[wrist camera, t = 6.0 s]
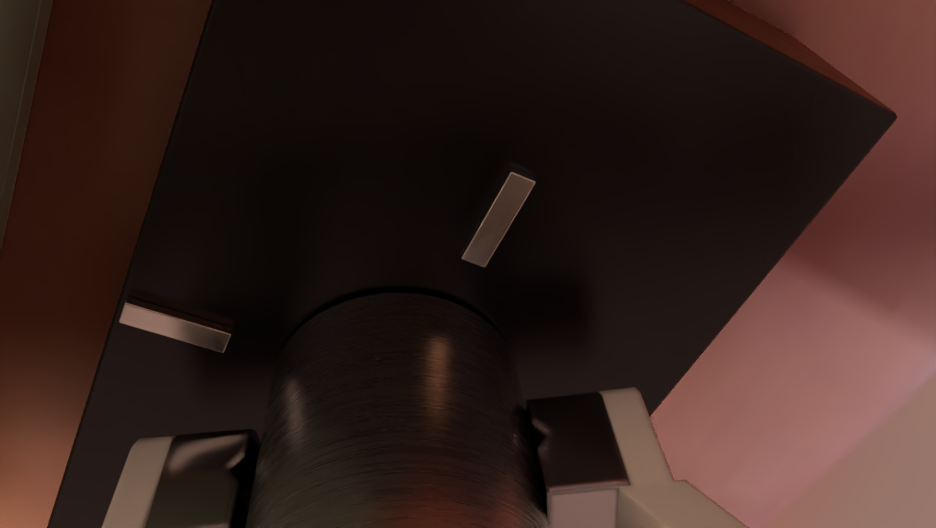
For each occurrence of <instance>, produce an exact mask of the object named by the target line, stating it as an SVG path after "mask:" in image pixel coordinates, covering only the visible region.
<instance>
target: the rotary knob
mask: <svg viewBox="0 0 936 528" xmlns="http://www.w3.org/2000/svg"><path fill="white" fill-rule="evenodd" d="M245 528H550V526H549V523H548V520H547V516H546V511H545V506H544V501H543V497H542V492H541V487H540V482H539V477H538V467H537V463H536V458H535V454H534V451H533V447H532V443H531V438H530V433H529V428H528V423H527V418H526V413H525V404H524V400H523V395H522V390H521V385H520V380H519V375H518V370H517V366H516V363H515V360H514V357H513V354H512V352H511V350H510V348H509V346H508V344H507V343H506V342H505V340H504V339H503V338H502V336H501V335H500V333H499V332H498V331H497V330H496V329H494V328H493V327H492V326H491V325H490V324H489V323H488V322H487V321H486V320H484V319H483V318H482V317H480V316H479V315H478V314H476V313H474V312H473V311H471V310H469V309H467V308H465V307H464V306H461V305H459V304H457V303H454V302H452V301H449V300H446V299H442V298H439V297H435V296H431V295H425V294H418V293H405V292H391V293H378V294H372V295H365V296H361V297H357V298H354V299H350V300H347V301H344V302H342V303H339V304H336V305H334V306H332V307H330V308H328V309H326V310H324V311H322V312H320V313H319V314H317V315H315V316H314V317H313V318H311V319H310V320H308V321H307V322H306V323H304V324H303V325H302V326H301V327H300V328H299V329H298V330H297V331H296V332H295V333H294V334H293V335H292V336H291V337H290V339H289V340H288V341H287V342H286V344H285V345H284V347H283V348H282V350H281V352H280V354H279V355H278V357H277V360H276V363H275V366H274V368H273V373H272V379H271V384H270V390H269V396H268V401H267V407H266V413H265V418H264V424H263V429H262V435H261V441H260V446H259V452H258V458H257V463H256V469H255V475H254V480H253V486H252V491H251V497H250V503H249V508H248V514H247V520H246V525H245Z"/></svg>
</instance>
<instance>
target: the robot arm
mask: <svg viewBox="0 0 936 528" xmlns="http://www.w3.org/2000/svg"><path fill="white" fill-rule="evenodd" d="M525 413H526V418H527V423H528V428H529V433H530V438H531V443H532V447H533V451H534V454H535V458H536V463H537V467H538V477H539V482H540V487H541V492H542V497H543V501H544V506H545V511H546V516H547V520H548V523H549V526H550V528H749V527H747V526H746V525H745V524H743V523H742V522H741V521H739V520H738V519H737V518H735V517H734V516H733V515H732V514H730V513H729V512H728V511H726V510H725V509H724V508H722V507H721V506H720V505H718V504H717V503H716V502H714V501H713V500H712V499H710V498H709V497H708V496H706V495H705V494H704V493H702V492H701V491H700V490H698V489H697V488H696V487H694V486H693V485H692V484H690V483H689V482H688V481H687V480H679V481H674V478H673V476H672V473H671V471H670V468H669V465H668V463H667V460H666V458H665V455H664V453H663V450H662V447H661V445H660V442H659V440H658V437H657V434H656V432H655V429H654V427H653V424H652V422H651V419H650V416H649V414H648V411H647V409H646V406H645V404H644V401H643V398H642V396H641V393H640V392H639V391H638V390H637V389H636V388H635V387H631V388H622V389H614V390H605V391H599V392H588V393H579V394H571V395H562V396H553V397H544V398H536V399H527V400H526V403H525ZM259 446H260V440H259V437H258V434H257V431H256V430H253V429H243V430H230V431H218V432H205V433H193V434H180V435H177V436H165V437H152V438H139V439H138V440H137V442H136V443H135V444H134V445H133V446H132V447H131V449H130V451H129V454H128V457H127V460H126V462H125V465H124V468H123V471H122V473H121V476H120V479H119V481H118V484H117V487H116V490H115V492H114V495H113V498H112V501H111V503H110V506H109V509H108V512H107V514H106V517H105V520H104V523H103V525H102V528H245V525H246V520H247V514H248V508H249V503H250V497H251V491H252V486H253V480H254V475H255V469H256V463H257V458H258V452H259Z"/></svg>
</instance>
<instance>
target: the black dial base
mask: <svg viewBox="0 0 936 528" xmlns="http://www.w3.org/2000/svg"><path fill="white" fill-rule="evenodd" d="M896 118H897V115H896V113H895V112H893V111H892V110H891V109H889V108H888V107H886V106H885V105H884V104H882V103H881V102H880V101H878V100H877V99H876V98H874V97H873V96H872V95H870V94H869V93H868V92H866V91H865V90H864V89H862V88H861V87H860V86H858V85H857V84H856V83H854V82H853V81H852V80H850V79H849V78H848V77H846V76H845V75H844V74H842V73H841V72H840V71H838V70H837V69H835V68H834V67H833V66H831V65H830V64H829V63H827V62H826V61H825V60H823V59H822V58H821V57H819V56H818V55H817V54H815V53H814V52H813V51H811V50H810V49H809V48H807V47H806V46H805V45H803V44H802V43H801V42H799V41H798V40H797V39H795V38H793V37H792V36H790V35H788V34H786V33H784V32H782V31H781V30H779V29H777V28H775V27H773V26H771V25H770V24H768V23H766V22H764V21H762V20H761V19H759V18H757V17H755V16H753V15H751V14H750V13H748V12H746V11H744V10H742V9H740V8H739V7H737V6H735V5H733V4H731V3H729V2H728V1H726V0H212V2H211V5H210V8H209V12H208V15H207V18H206V21H205V24H204V28H203V31H202V34H201V37H200V40H199V44H198V47H197V50H196V53H195V56H194V60H193V63H192V66H191V69H190V72H189V76H188V79H187V82H186V85H185V88H184V92H183V95H182V98H181V101H180V104H179V107H178V111H177V114H176V117H175V120H174V123H173V127H172V130H171V133H170V136H169V139H168V143H167V146H166V149H165V152H164V155H163V159H162V162H161V165H160V168H159V171H158V175H157V178H156V181H155V184H154V187H153V191H152V194H151V197H150V200H149V203H148V207H147V210H146V213H145V216H144V219H143V223H142V226H141V229H140V232H139V235H138V239H137V242H136V245H135V248H134V251H133V254H132V258H131V261H130V264H129V267H128V270H127V274H126V277H125V280H124V283H123V286H122V290H121V293H120V296H119V299H118V302H117V306H116V309H115V312H114V315H113V318H112V322H111V325H110V328H109V331H108V334H107V338H106V341H105V344H104V347H103V350H102V354H101V357H100V360H99V363H98V366H97V370H96V373H95V376H94V379H93V382H92V386H91V389H90V392H89V395H88V398H87V401H86V405H85V408H84V411H83V414H82V417H81V421H80V424H79V427H78V430H77V433H76V437H75V440H74V443H73V446H72V449H71V453H70V456H69V459H68V462H67V465H66V469H65V472H64V475H63V478H62V481H61V485H60V488H59V491H58V494H57V497H56V501H55V504H54V507H53V510H52V513H51V517H50V520H49V523H48V526H47V528H102V525H103V523H104V520H105V517H106V514H107V512H108V509H109V506H110V503H111V501H112V498H113V495H114V492H115V490H116V487H117V484H118V481H119V479H120V476H121V473H122V471H123V468H124V465H125V462H126V460H127V457H128V454H129V451H130V449H131V447H132V446H133V445H134V444H135V443H136V442H137V440H138V439H139V438H152V437H165V436H177V435H180V434H193V433H205V432H218V431H230V430H243V429H253V430H256V431H257V434H258V437H259V440H260V441H261V435H262V429H263V424H264V418H265V413H266V407H267V401H268V396H269V390H270V384H271V379H272V373H273V368H274V366H275V363H276V360H277V357H278V355H279V354H280V352H281V350H282V348H283V347H284V345H285V344H286V342H287V341H288V340H289V339H290V337H291V336H292V335H293V334H294V333H295V332H296V331H297V330H298V329H299V328H300V327H301V326H302V325H303V324H304V323H306V322H307V321H308V320H310V319H311V318H313V317H314V316H315V315H317V314H319V313H320V312H322V311H324V310H326V309H328V308H330V307H332V306H334V305H336V304H339V303H342V302H344V301H347V300H350V299H354V298H357V297H361V296H365V295H372V294H378V293H391V292H405V293H418V294H425V295H431V296H435V297H439V298H442V299H446V300H449V301H452V302H454V303H457V304H459V305H461V306H464V307H465V308H467V309H469V310H471V311H473V312H474V313H476V314H478V315H479V316H480V317H482V318H483V319H484V320H486V321H487V322H488V323H489V324H490V325H491V326H492V327H493V328H494V329H496V330H497V331H498V332H499V333H500V335H501V336H502V338H503V339H504V340H505V342H506V343H507V344H508V346H509V348H510V350H511V352H512V354H513V357H514V360H515V363H516V366H517V370H518V375H519V380H520V385H521V390H522V395H523V400H524V404H525V403H526V400H527V399H536V398H544V397H553V396H562V395H571V394H579V393H588V392H599V391H605V390H614V389H622V388H631V387H635V388H636V389H637V390H638V391H639V392H640V393H641V396H642V398H643V401H644V404H645V406H646V409H647V411H648V414H649V416H651V414H652V413H653V412H654V411H655V410H656V408H657V407H658V406H659V405H660V404H661V402H662V401H663V400H664V399H665V398H666V396H667V395H668V394H669V393H670V392H671V390H672V389H673V388H674V387H675V385H676V384H677V383H678V382H679V381H680V379H681V378H682V377H683V376H684V375H685V373H686V372H687V371H688V370H689V369H690V367H691V366H692V365H693V364H694V363H695V361H696V360H697V359H698V358H699V357H700V355H701V354H702V353H703V352H704V350H705V349H706V348H707V347H708V346H709V344H710V343H711V342H712V341H713V340H714V338H715V337H716V336H717V335H718V334H719V332H720V331H721V330H722V329H723V328H724V326H725V325H726V324H727V323H728V322H729V320H730V319H731V318H732V317H733V315H734V314H735V313H736V312H737V311H738V309H739V308H740V307H741V306H742V305H743V303H744V302H745V301H746V300H747V299H748V297H749V296H750V295H751V294H752V293H753V291H754V290H755V289H756V288H757V287H758V285H759V284H760V283H761V282H762V280H763V279H764V278H765V277H766V276H767V274H768V273H769V272H770V271H771V270H772V268H773V267H774V266H775V265H776V264H777V262H778V261H779V260H780V259H781V258H782V256H783V255H784V254H785V253H786V252H787V250H788V249H789V248H790V247H791V245H792V244H793V243H794V242H795V241H796V239H797V238H798V237H799V236H800V235H801V233H802V232H803V231H804V230H805V229H806V227H807V226H808V225H809V224H810V223H811V221H812V220H813V219H814V218H815V217H816V215H817V214H818V213H819V212H820V210H821V209H822V208H823V207H824V206H825V204H826V203H827V202H828V201H829V200H830V198H831V197H832V196H833V195H834V194H835V192H836V191H837V190H838V189H839V188H840V186H841V185H842V184H843V183H844V182H845V180H846V179H847V178H848V177H849V175H850V174H851V173H852V172H853V171H854V169H855V168H856V167H857V166H858V165H859V163H860V162H861V161H862V160H863V159H864V157H865V156H866V155H867V154H868V153H869V151H870V150H871V149H872V148H873V147H874V145H875V144H876V143H877V142H878V140H879V139H880V138H881V137H882V136H883V134H884V133H885V132H886V131H887V130H888V128H889V127H890V126H891V125H892V124H893V122H894V121H895V120H896Z"/></svg>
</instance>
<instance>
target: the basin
mask: <svg viewBox="0 0 936 528" xmlns="http://www.w3.org/2000/svg"><path fill="white" fill-rule="evenodd" d="M52 5H53V0H0V254H1V249H2V245H3V240H4V235H5V230H6V225H7V221H8V216H9V211H10V206H11V201H12V197H13V192H14V187H15V182H16V177H17V173H18V168H19V163H20V158H21V153H22V149H23V144H24V139H25V134H26V129H27V125H28V120H29V115H30V110H31V105H32V101H33V96H34V91H35V86H36V81H37V77H38V72H39V67H40V62H41V57H42V53H43V48H44V43H45V38H46V33H47V29H48V24H49V19H50V14H51V9H52Z"/></svg>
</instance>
